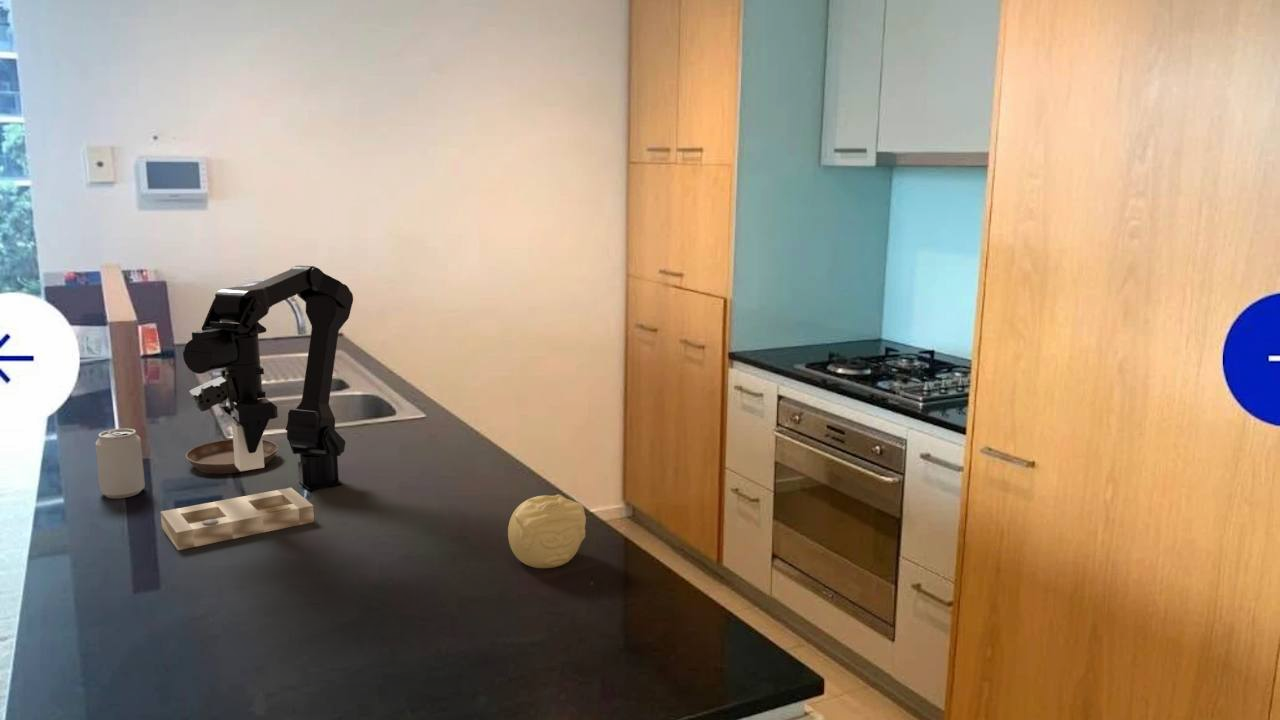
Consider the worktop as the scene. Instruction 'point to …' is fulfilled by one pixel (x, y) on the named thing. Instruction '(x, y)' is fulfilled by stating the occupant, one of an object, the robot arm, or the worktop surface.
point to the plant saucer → (222, 456)
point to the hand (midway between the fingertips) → (248, 449)
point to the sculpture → (546, 531)
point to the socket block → (235, 518)
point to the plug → (245, 450)
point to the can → (120, 463)
